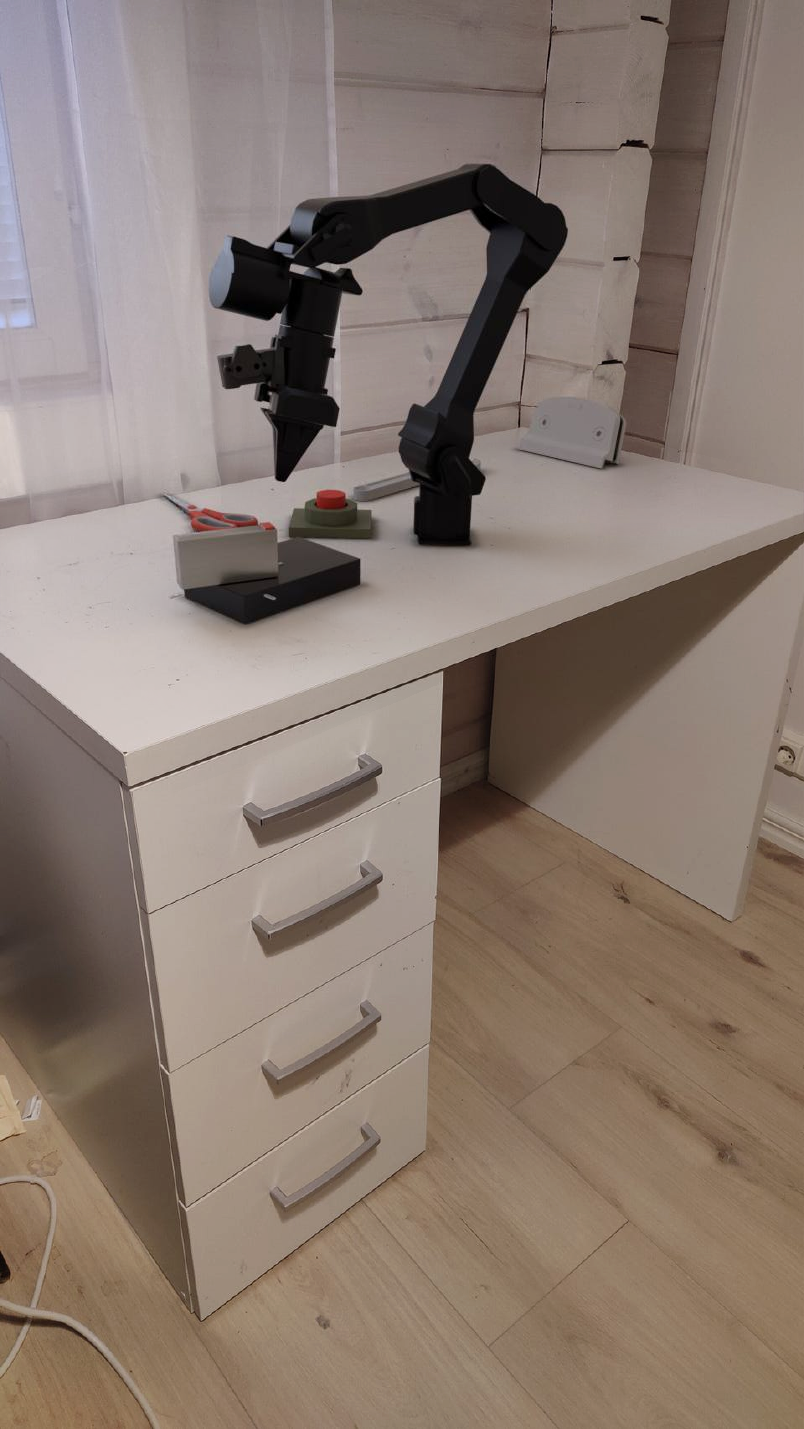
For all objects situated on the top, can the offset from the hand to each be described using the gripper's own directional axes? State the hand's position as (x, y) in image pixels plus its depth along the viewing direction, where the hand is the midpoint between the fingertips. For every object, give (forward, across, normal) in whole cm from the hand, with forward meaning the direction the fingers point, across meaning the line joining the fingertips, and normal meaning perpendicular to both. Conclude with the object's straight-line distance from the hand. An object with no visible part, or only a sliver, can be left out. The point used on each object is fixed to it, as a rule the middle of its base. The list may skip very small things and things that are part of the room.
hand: (279, 481), depth 110 cm
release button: (+4, -14, +9) cm, 17 cm away
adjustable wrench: (+1, -32, +25) cm, 41 cm away
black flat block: (+11, +8, -2) cm, 14 cm away
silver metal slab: (+9, +10, -5) cm, 15 cm away
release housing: (+6, -14, +10) cm, 18 cm away
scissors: (+9, -21, -7) cm, 24 cm away
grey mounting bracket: (-7, -44, +53) cm, 69 cm away
